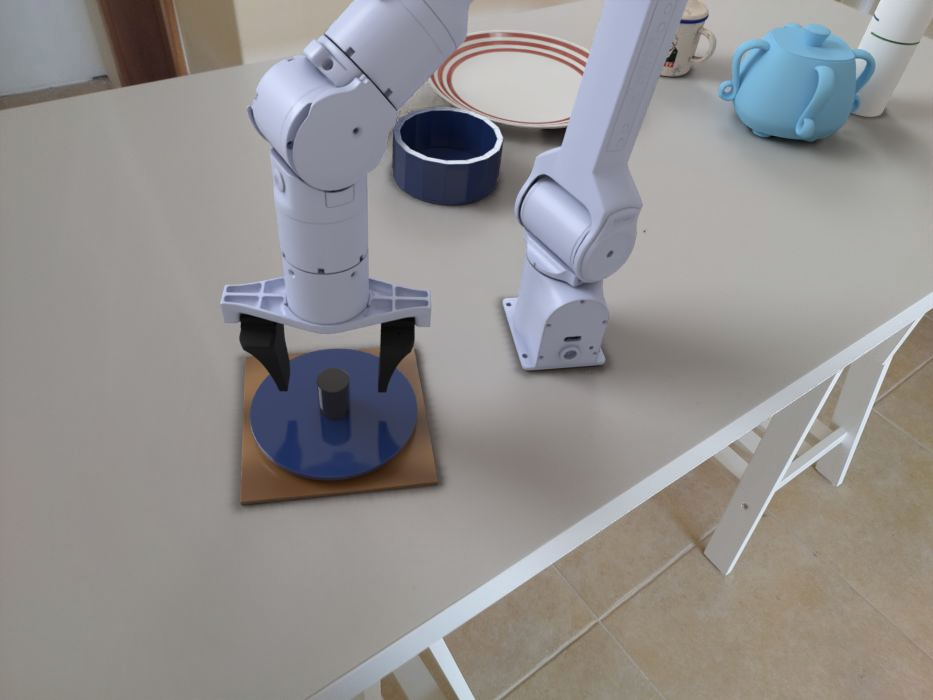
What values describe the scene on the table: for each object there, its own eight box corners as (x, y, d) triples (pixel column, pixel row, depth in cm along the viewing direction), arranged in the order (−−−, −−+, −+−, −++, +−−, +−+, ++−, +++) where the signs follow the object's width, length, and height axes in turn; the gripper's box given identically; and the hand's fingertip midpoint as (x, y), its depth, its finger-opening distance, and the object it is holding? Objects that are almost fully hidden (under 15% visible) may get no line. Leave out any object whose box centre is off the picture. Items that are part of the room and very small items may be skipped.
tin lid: (416, 357, 67) (418, 321, 63) (418, 485, 57) (420, 450, 54) (262, 355, 65) (256, 318, 62) (239, 485, 56) (230, 449, 53)
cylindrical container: (872, 95, 114) (964, -84, 96) (889, 118, 109) (990, -67, 91) (827, 91, 114) (911, -90, 96) (843, 114, 109) (934, -72, 91)
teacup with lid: (622, 61, 115) (641, -17, 107) (653, 46, 120) (674, -29, 112) (687, 91, 110) (713, 11, 101) (718, 74, 115) (744, -3, 106)
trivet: (437, 484, 58) (438, 481, 58) (240, 504, 55) (239, 502, 55) (413, 348, 68) (413, 345, 68) (245, 359, 65) (245, 356, 65)
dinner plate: (624, 155, 95) (630, 132, 93) (413, 132, 95) (414, 108, 92) (608, 61, 114) (613, 40, 112) (433, 42, 114) (435, 20, 112)
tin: (507, 203, 86) (513, 162, 82) (399, 206, 83) (400, 165, 79) (486, 145, 94) (490, 106, 90) (387, 147, 92) (388, 107, 88)
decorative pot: (789, 166, 97) (836, 66, 87) (697, 111, 106) (731, 14, 96) (858, 136, 105) (908, 41, 95) (767, 86, 113) (805, -5, 103)
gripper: (432, 214, 52) (424, 347, 62) (222, 207, 51) (247, 344, 60) (435, 279, 47) (426, 413, 57) (203, 273, 46) (233, 411, 56)
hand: (333, 382), depth 58 cm, fingers open, 7 cm apart
